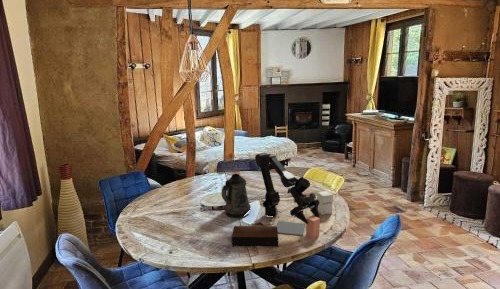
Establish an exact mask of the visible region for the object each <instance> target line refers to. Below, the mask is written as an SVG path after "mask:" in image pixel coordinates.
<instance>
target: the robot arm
mask: <svg viewBox="0 0 500 289" xmlns="http://www.w3.org/2000/svg"><path fill="white" fill-rule="evenodd" d="M254 160H255V163H256V165H257V166H258V168H259V169H260V171H261V176H262V180H263V183H264V188H265V195H264V199H265V200H264V201H263V202H262V203H261V204H262V207H263V208H264V215H265V214H267V215H268V216H273V217H274V218H276V216H277V214H278V211H277V210H278V208H277V206H278V205H279V203H280V201H281V197H280V193H279V191H276V189H275V187H274V183H273V179H272V175H271V172H270V168H269V165H271V167H272V168H273V169H274V171H275V172H276V173H277V174H278V176H279V177H280V182H281V184H282V185H283V187H285V188H287V195H288V194H291V196H292V198H293V203H294V204H296V205H297V206H295V207H293V208H292V209H291V210H290V212H289V213H290V216H291V217H294V218H297V219H299V220H300V221H302V222H303V223H304V224H305V225H306V224H308V221H307V219H306V218H307V217H306V216H305V214H304V210H306V209H309V211H310V212H311V213H312V215H313V216H315V217H318V218H320V213H319V212H318V205H319V203H320V202H319V200H317V195H316V194H315V192H311V193H309V195H306V194H304V192H305V191H307V190H308V189H309V188H310V187H311V181H309V180H308V179H307V178H305V177H304V176H301V177H299V178H296V177H295V175H294V174H293V173H292V172H288V170H287V169H286V168H285V167H284V165H283V164H282V163H281V162H280V160H279V159H278V158H277V155H275V154H271V153H267V152H261V153H256V155H255V157H254ZM273 217H272V218H273Z"/></svg>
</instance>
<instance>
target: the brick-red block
mask: <svg viewBox="0 0 500 289" xmlns="http://www.w3.org/2000/svg"><path fill="white" fill-rule="evenodd" d="M305 218H306V219H307V221H308V224H306V223H305V228H306V229H305V236H307V237H309V238H311V239H315V238H318V237H319V236H320V222H321V218H320V217H319V218H318V217H315V215H314V214H311V215H310V216H308V217H305Z"/></svg>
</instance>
